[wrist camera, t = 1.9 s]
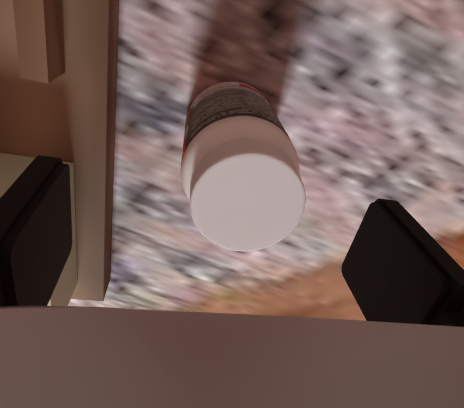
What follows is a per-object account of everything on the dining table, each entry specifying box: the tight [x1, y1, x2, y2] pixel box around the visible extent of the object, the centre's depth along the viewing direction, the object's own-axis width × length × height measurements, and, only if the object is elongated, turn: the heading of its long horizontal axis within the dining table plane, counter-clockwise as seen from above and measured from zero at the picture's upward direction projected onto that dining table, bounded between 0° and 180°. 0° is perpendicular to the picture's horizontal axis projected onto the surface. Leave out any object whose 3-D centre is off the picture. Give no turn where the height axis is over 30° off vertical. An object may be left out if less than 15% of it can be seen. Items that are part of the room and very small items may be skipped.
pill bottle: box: [181, 82, 305, 251], centre depth 16 cm, size 5×5×8 cm
